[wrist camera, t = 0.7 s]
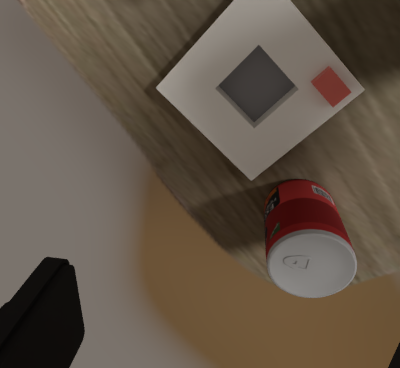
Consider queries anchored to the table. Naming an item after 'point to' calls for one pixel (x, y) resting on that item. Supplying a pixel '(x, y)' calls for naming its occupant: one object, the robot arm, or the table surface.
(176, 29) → the table surface
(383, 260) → the table surface
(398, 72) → the table surface
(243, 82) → the socket plate
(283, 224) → the canned food
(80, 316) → the robot arm
